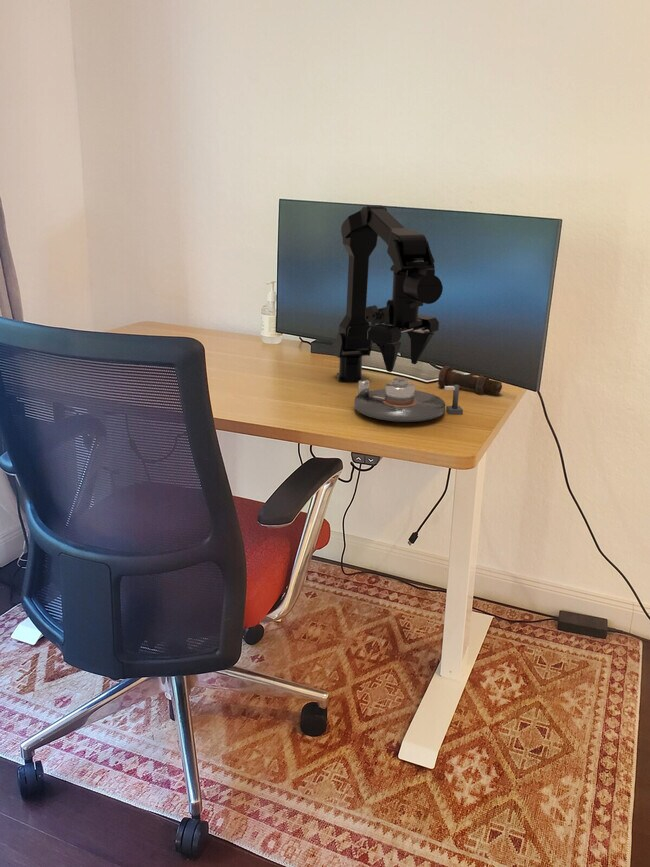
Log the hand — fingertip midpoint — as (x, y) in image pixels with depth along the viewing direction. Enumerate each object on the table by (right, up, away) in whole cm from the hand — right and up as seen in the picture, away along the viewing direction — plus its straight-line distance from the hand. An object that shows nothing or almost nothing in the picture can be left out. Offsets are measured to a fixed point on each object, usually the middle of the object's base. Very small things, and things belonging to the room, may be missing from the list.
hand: (401, 367), depth 163 cm
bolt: (+19, -4, +21) cm, 28 cm away
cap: (0, -7, +3) cm, 8 cm away
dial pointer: (+12, -10, +5) cm, 16 cm away
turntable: (0, -8, +3) cm, 9 cm away
